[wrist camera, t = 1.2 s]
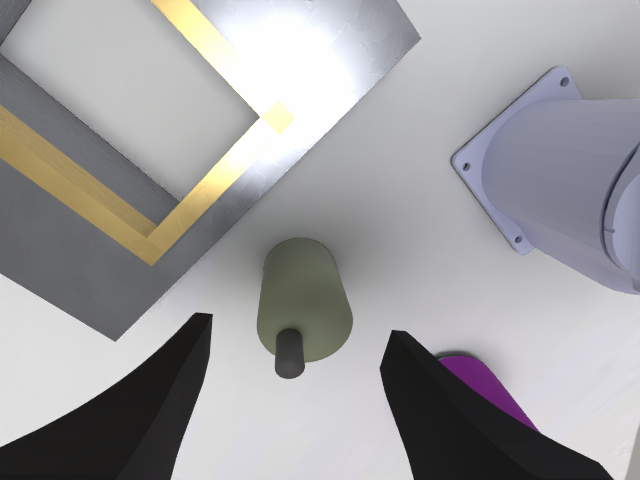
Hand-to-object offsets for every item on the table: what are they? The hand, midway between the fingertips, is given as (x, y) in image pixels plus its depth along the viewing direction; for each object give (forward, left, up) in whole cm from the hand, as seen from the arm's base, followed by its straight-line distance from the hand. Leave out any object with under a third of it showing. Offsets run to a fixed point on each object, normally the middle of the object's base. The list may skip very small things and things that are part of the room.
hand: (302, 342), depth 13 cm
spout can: (-2, +1, -10) cm, 10 cm away
